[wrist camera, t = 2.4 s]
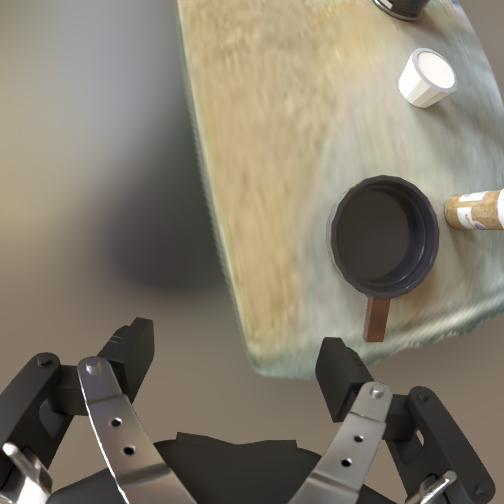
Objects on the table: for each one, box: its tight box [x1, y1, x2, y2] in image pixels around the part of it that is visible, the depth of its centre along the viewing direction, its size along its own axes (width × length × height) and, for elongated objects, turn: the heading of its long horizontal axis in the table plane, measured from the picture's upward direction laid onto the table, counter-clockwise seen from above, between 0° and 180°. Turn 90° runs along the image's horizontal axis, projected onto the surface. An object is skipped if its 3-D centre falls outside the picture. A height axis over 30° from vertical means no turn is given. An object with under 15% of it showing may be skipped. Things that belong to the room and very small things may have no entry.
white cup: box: [399, 48, 458, 108], centre depth 24 cm, size 7×7×7 cm
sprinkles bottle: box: [445, 189, 504, 230], centre depth 22 cm, size 5×5×14 cm
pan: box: [326, 175, 439, 298], centre depth 28 cm, size 13×13×4 cm
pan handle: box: [363, 294, 390, 342], centre depth 30 cm, size 6×2×4 cm, turn 178°
